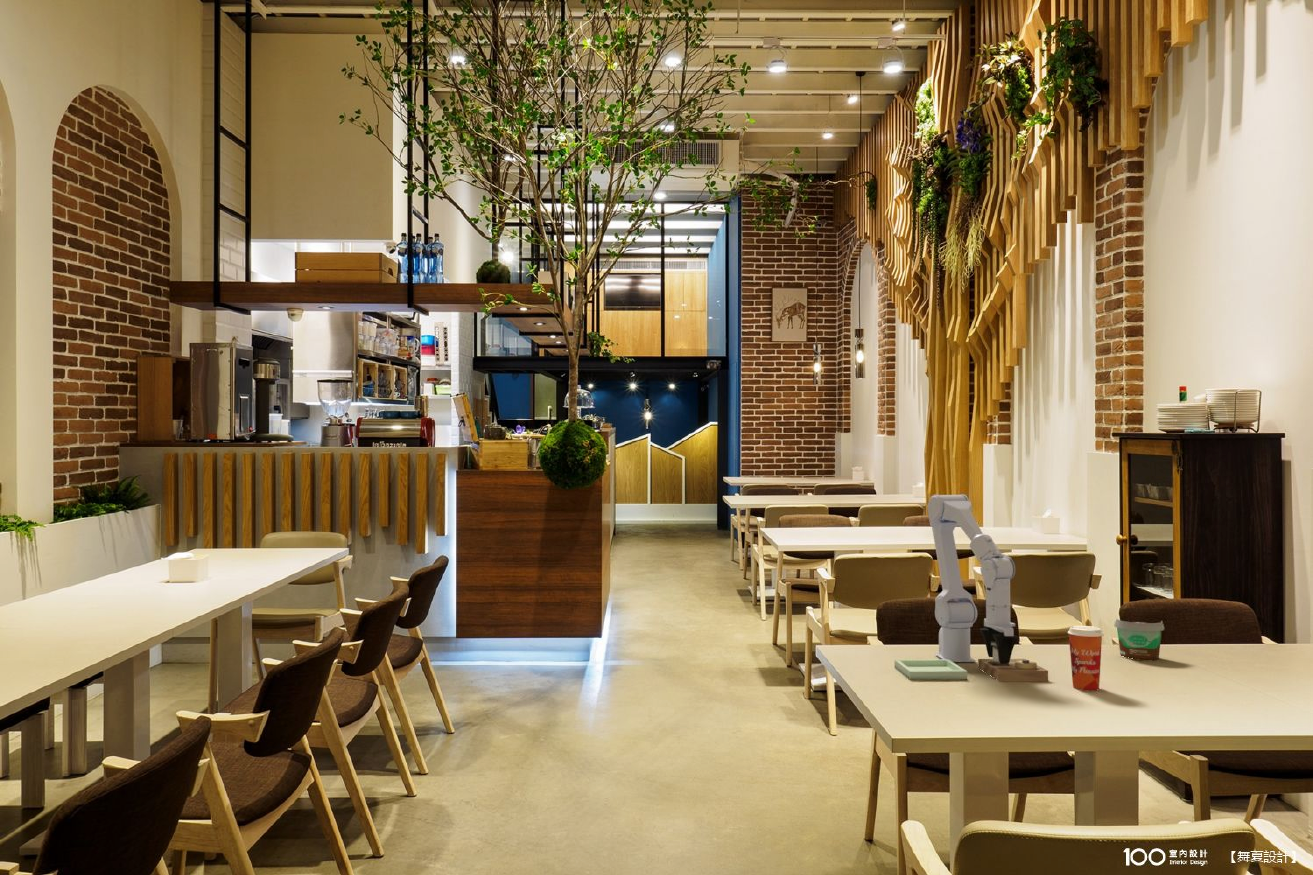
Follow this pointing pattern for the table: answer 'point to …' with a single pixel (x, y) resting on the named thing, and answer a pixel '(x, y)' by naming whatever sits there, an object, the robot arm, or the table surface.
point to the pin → (995, 655)
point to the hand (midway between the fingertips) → (998, 660)
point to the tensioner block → (1014, 670)
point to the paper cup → (1085, 656)
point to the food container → (1139, 639)
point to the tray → (930, 669)
